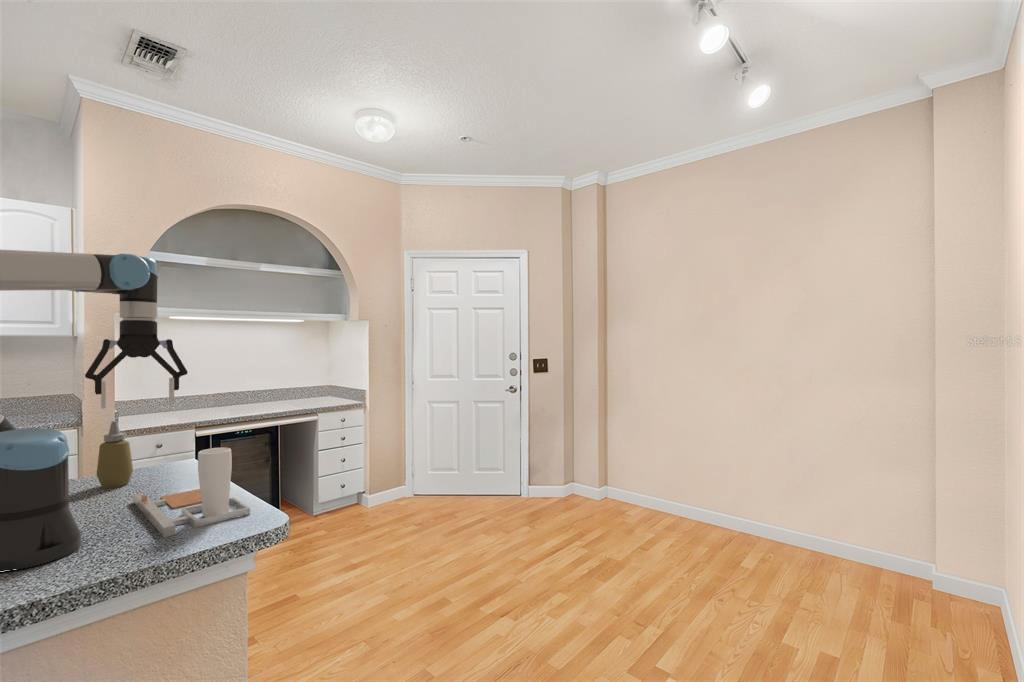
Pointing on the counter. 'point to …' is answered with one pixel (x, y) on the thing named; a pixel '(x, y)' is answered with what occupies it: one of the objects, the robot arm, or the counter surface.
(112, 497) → the counter surface
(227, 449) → the drinking glass
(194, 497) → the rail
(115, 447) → the squeeze bottle
